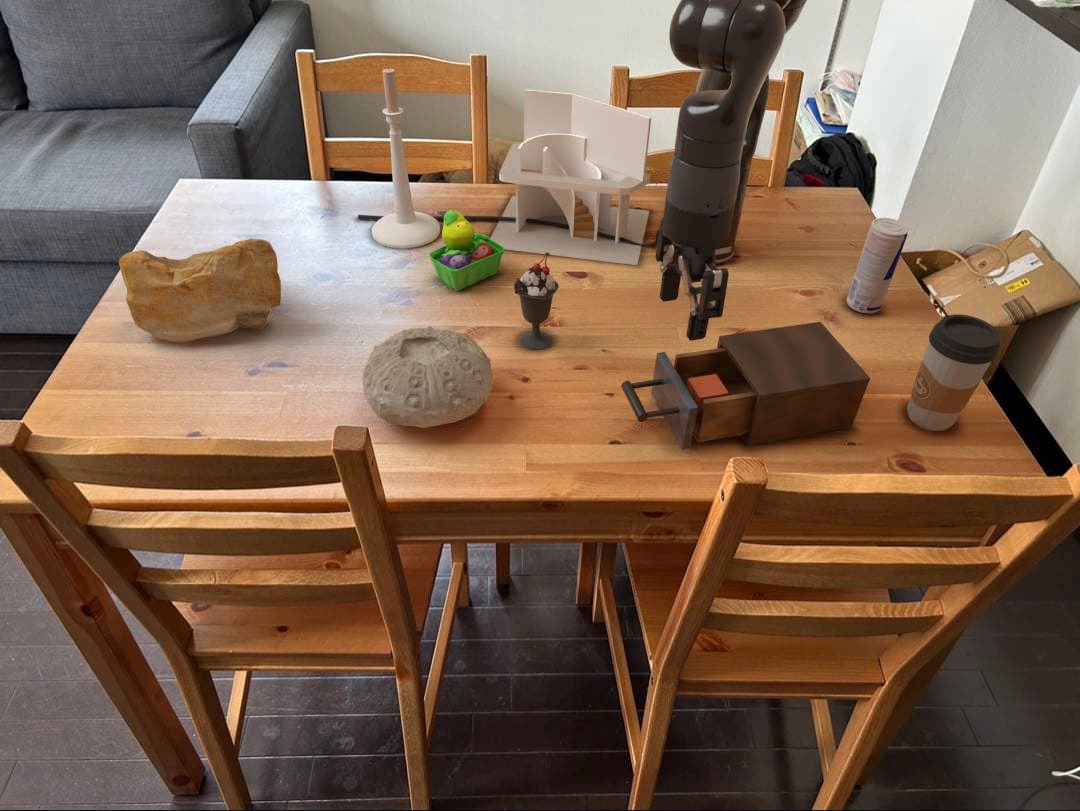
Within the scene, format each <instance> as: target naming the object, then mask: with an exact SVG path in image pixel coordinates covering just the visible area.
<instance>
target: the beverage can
mask: <svg viewBox="0 0 1080 811" xmlns="http://www.w3.org/2000/svg"><path fill="white" fill-rule="evenodd" d="M909 232H910V229H909V226H908V225H907V224H906V223H904V222H902V221H901V220H898V219H895V218H890V217H877V218H875V219H873V220H872V221H871V224H870V226H869V229H868V232H867V235H866V238H865V242H864V244H863V248H862V250H861V254H860V257H859V260H858V263H857V266H856V269H855V273H854V276H853V279H852V281H851V285H850V288H849V291H848V294H847V297H846V304H847V305H848V307H849V308H851V309H852V310H854V311H856V312H858V313H861V314H862V313H863V314H874V313H877V312H879V311H881V309H882V307H883V305H884V301H885V298H886V295H887V293H888V290H889V288H890V284H891V281H892V280H893V277H894V273H895V271H896V268H897V266H898V262H899V260H900V258H901V254H902V251H903V249H904V246H905V244H906V241H907V238H908V233H909Z"/></svg>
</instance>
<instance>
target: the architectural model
mask: <svg viewBox="0 0 1080 811" xmlns="http://www.w3.org/2000/svg"><path fill="white" fill-rule="evenodd" d="M651 125H652V117H651V116H647V115H644V114H641V113H637V112H635V111H631V110H628V109H625V108H622V107H618V106H615V105H611V104H609V103H605V102H602V101H599V100H595V99H592V98H589V97H586V96H583V95H579V94H576V93H573V92H572V93H571V92H558V91H548V90H537V89H536V90H535V89H524V90H523V141H522V142H515V143H513V144H512V145H511V146H510V148H509V150H508V152H507V154H506V157H505V159H504V161H503V163H502V165H501V168H500V170H499V173H498V176H499V178H498V179H499V181H501V182H502V183H509V184H514V185H515V195H512V196H511V197H510V199H509V201H508V203H507V205H506V207H505V209H504V211H503V213H502V215H501V217H515V218H516V221H503V220H498V223H497V224H496V226H495V229H494V230H493V232H492V234H491V236H490V237H489V238H490V239H492V240H493V241H495V242H496V243H498V244H500V245H501V246H503V247H504V248H505V250H506V251H516V252H523V253H531V254H541V255H545V253H550V254H549V255H548V256H557V257H564V258H574V259H581V260H582V259H583V260H590V261H591V260H592V261H599V262H606V263H615V264H624V265H631V266H638V264H639V259H640V255H641V250H642V246H638V245H632V244H628V243H625V242H622V241H619V238H620V237H623V238H626V239H628V240H631V241H634V242H636V243H640V244H643V241H644V237H645V232H646V228H647V224H648V218H649V215H650V210H646V209H645V210H644V209H637V208H630V202H631V195H632V194H634V193H635V192H638V191H639V190H640V189H643V188H644V187H646V186H648V185H649V184H650V183H651V182H650V181H651V174H650V173H648V172H647V160H648V153H649V152H648V151H649V142H650V133H651ZM613 195H617V196H618V203H617V206H612V204H613V203H612V202H613ZM526 219H536V220H543V221H550V222H556V223H562V224H567V225H569V228H570V229H567V228H562V227H557V226H551V225H544V224H537V223H528V222H525V221H526ZM597 231H598V232H601V233H605V234H609V235H614V236H616V238H615V240H614V239H609V238H605V237H601V236H597Z"/></svg>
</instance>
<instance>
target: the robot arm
mask: <svg viewBox="0 0 1080 811" xmlns="http://www.w3.org/2000/svg"><path fill="white" fill-rule="evenodd" d="M807 2H808V0H680V1H679V3H678V5H677V7H676V9H675V11H674V13H673V15H672V18H671V21H670V25H669V32H668V39H669V40H668V41H669V46H670V50H671V52H672V54H673V56H674V58H675V59H676V60H677V61H678V62H679V63H681V64H682V65H684V66H686V67H689V68H693V69H697V70H701V71H700V74H699V77H698V79H697V83H696V88H695V92H692V93H691V94H689V95H687V96H686V97H685V98H684V99H683V100H682V102H681V104H680V107H679V112H678V118H677V124H676V125H677V126H676V132H675V142H674V149H673V155H672V159H671V163H670V166H669V171H668V176H667V185H666V192H665V199H664V207H663V216H662V217H661V218H660V223H659V228H658V229H657V231H656V233H655V240H654V241H653V242H650V243H642V244H640V243H636V242H634V241H631V240H628V239H626V238H623V237H620V238H619V241H622V242H625V243H628V244H632V245H638V246H641V247H644V248H653V247H655V246H656V249H655V255H654V257H655V260H656V262H660V263H661V264H660V266H659V268H660V269H659V270H660V273H661V274H662V276H661V282H660V291H659V298H660V300H661V301H662V302H671V301H676V300H677V299H678V298H679V292H680V286H681V280H682V284H683V293H684V295H685V296H687V297H688V299H689V307H690V311H689V316H688V321H687V327H686V338H687V339H688V340H689V341H698V340H703V339H705V338H706V336H707V332H708V327H709V322H710V319H716V318H721V317H723V313H724V306H725V301H726V295H727V288H728V283H729V274H730V273H729V270H728V268H726V267H725V268H719V267H718V266H716V265H720V264H725V263H727V262H729V261H730V260H732V259H733V257H734V254H735V247H736V243H737V242H736V241H737V236H738V232H739V227H740V221H741V217H742V211H743V207H744V201H745V196H746V191H747V187H748V182H749V176H750V171H751V166H752V162H753V157H754V155H755V153H756V150H757V146H758V141H759V137H760V134H761V133H760V132H761V129H762V125H763V121H764V117H765V114H766V110H767V105H768V101H769V97H770V96H769V95H770V85H771V84H770V82H771V81H770V80H771V79H770V75H769V74H770V73H769V72H770V71H771V68H772V67H773V65H774V63H775V61H776V59H777V57H778V55H779V53H780V51H781V48H782V45H783V42H784V39H785V35H787V34H788V32H789V31H791V29H792V28H793V27H794V25H795V24H796V23H797V21H798V19H799V17H800V16H801V13H802V11H803V10H804V8H805V6H806V4H807ZM384 216H385V215H372V214H371V215H369V214H358V215H357V219H358V220H375V221H376V220H377V221H378V220H379V219H381V218H382V217H384ZM431 216H432V215H431ZM463 216H464V218H465V219H466V220H467V221H473V220H474V221H500V220H503V221H516V218H515V217H502V216H498V215H496V216H495V215H463ZM432 217H433V218H435V219H436V220H437V221H444V215H436V216H435V215H433V216H432ZM525 222H528V223H537V224H544V225H551V226H557V227H562V228H567V229H570V228H569V225H567V224H562V223H556V222H550V221H543V220H536V219H526V221H525ZM597 236H601V237H605V238H609V239H614V240H615V238H616V236H614V235H609V234H605V233H601V232H598V231H597ZM666 246H669V247H668V248H667V250H665V247H666ZM696 283H701V286H697V287H696V286H694V285H693V284H696ZM699 294H700V296H699V298H698V295H699ZM698 299H699V300H698Z"/></svg>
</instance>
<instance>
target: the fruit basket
mask: <svg viewBox="0 0 1080 811" xmlns="http://www.w3.org/2000/svg"><path fill="white" fill-rule="evenodd" d="M443 216H444V220H443V227H442V229H441V230H442V231H441V237H442V241H443V243H444V244H445V245H444V246H441V247H439V248H437V249H435V250H432V251H430V252H429V253H428V257H429V259H430V261H431V262H432V263H433V267H434V270H435V272H436V274H437V276H438V279H439V280H440V281H442V282H443V283H444V284H446V285H447V286H448V287H450V288H451V289H453V290H454V291H456V292H459V291H460V290H463V289H465V288H466V287H471V286H472V285H475V284H476V283H478V282H481V281H483V280H486V279H487V278H488V277H493V276H495V275H496V274H498V270H499V268H500V264H501V261H502V257H503V255H504V253H505V250H506V249H505V248H504V247H503V246H501V245H500V244H498V243H496V242H495V241H493V240H492V239H490V238H491V237H488V236H487V235H485V234H483V233H481V232H477V233H475V229H474V226H473V225H472V223H470V221H469V220H466V219H465V218H464V216H465V215H463V213H461V212H460V211H459V212H458V211H456V210H454V209H449V210H448V211H446V212H445V213H444V215H443Z"/></svg>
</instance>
